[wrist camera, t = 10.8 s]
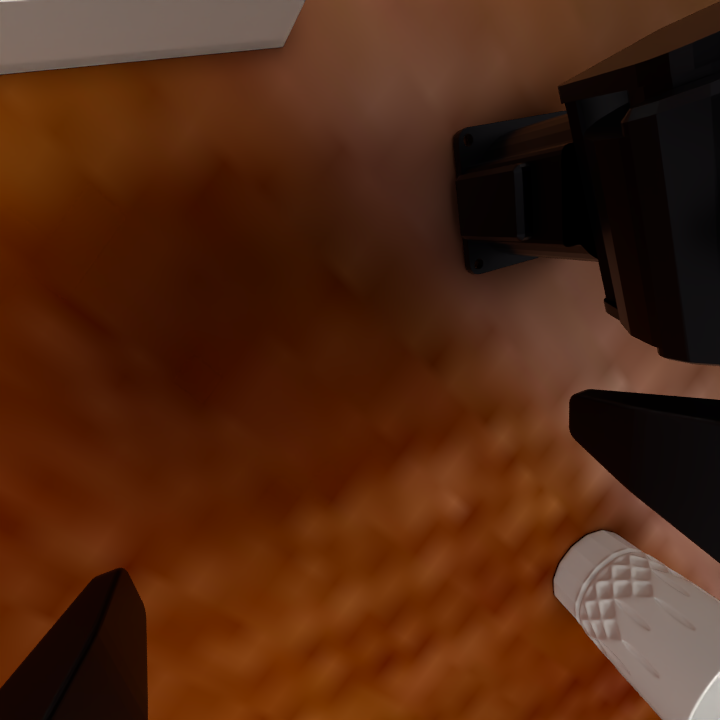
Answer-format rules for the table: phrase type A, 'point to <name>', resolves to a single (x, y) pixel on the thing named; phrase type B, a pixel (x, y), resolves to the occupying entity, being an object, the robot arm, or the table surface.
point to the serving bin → (135, 30)
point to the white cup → (646, 623)
